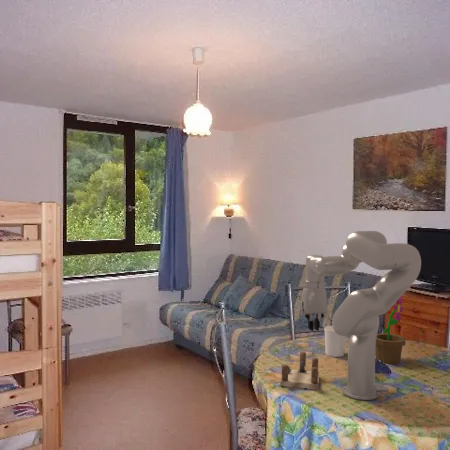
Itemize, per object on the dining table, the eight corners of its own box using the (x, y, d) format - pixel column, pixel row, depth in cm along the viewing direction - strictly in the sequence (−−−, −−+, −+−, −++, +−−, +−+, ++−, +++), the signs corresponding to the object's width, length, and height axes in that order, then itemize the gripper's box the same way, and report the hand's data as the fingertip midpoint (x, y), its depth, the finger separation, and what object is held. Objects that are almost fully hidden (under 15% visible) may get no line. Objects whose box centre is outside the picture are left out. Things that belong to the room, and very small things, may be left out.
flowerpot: (399, 368, 200) (401, 297, 198) (366, 361, 208) (368, 293, 207) (409, 359, 211) (411, 293, 210) (377, 353, 220) (379, 289, 219)
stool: (318, 376, 188) (319, 357, 188) (318, 389, 175) (318, 369, 174) (283, 373, 191) (283, 355, 191) (280, 386, 177) (280, 366, 177)
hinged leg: (305, 372, 187) (305, 358, 187) (298, 371, 187) (299, 357, 187) (305, 365, 195) (306, 352, 195) (299, 364, 195) (300, 351, 195)
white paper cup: (321, 355, 215) (321, 329, 215) (327, 349, 224) (327, 324, 223) (342, 359, 211) (343, 332, 210) (347, 353, 219) (348, 327, 219)
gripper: (328, 283, 199) (327, 326, 200) (293, 284, 195) (292, 328, 196) (336, 286, 192) (335, 331, 193) (300, 287, 188) (299, 333, 189)
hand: (313, 329), depth 194 cm, fingers closed
